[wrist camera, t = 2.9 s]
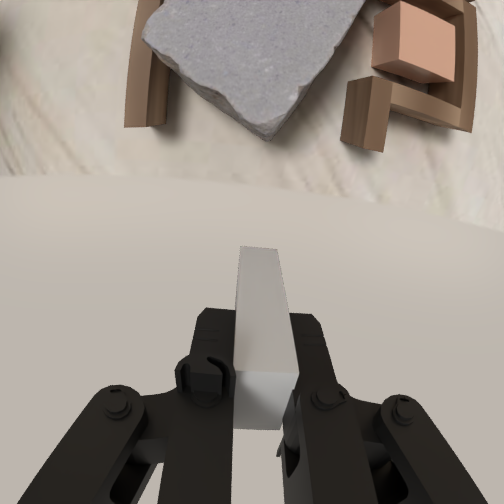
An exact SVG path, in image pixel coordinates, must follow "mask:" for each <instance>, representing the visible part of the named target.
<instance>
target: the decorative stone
mask: <svg viewBox="0 0 504 504" xmlns="http://www.w3.org/2000/svg"><path fill="white" fill-rule="evenodd" d="M365 1H366V0H164V3H163V5H161V6H160V7H159V8H158V9H157V10H156V11H155V12H154V13H153V14H152V15H151V16H150V17H149V19H148V20H147V22H146V24H145V27H144V29H143V31H142V37H141V39H142V40H143V41H144V43H145V44H146V45H147V46H148V47H149V48H150V49H151V50H152V51H153V52H154V53H155V54H156V55H157V56H158V58H159V59H160V60H161V61H162V62H163V63H164V64H166V65H167V66H168V67H170V68H171V69H173V70H174V71H175V72H176V73H177V74H178V75H179V76H180V78H182V79H183V81H184V82H185V83H186V84H187V85H188V86H189V87H191V88H192V89H193V90H194V91H195V92H196V93H197V94H198V95H200V96H201V97H202V98H204V99H206V100H207V101H209V102H211V103H212V104H214V105H215V106H216V107H218V108H219V109H220V110H221V111H222V112H224V113H226V114H228V115H230V116H231V117H233V118H234V119H236V120H237V121H238V122H240V123H241V124H242V125H244V126H245V127H246V128H247V129H248V130H250V131H251V132H252V133H254V134H255V135H257V136H259V137H260V138H261V139H263V140H265V141H271V139H272V138H273V137H274V136H275V134H276V133H277V131H278V130H279V129H280V128H281V127H282V125H283V124H284V123H285V122H286V121H287V120H288V118H289V117H290V116H291V114H292V113H293V111H294V110H295V109H296V107H297V106H298V104H299V103H300V101H302V99H303V98H304V96H305V95H306V93H307V91H308V89H309V87H310V86H311V84H312V83H313V81H314V78H315V77H316V76H317V75H318V74H319V73H320V72H321V71H322V70H323V68H324V67H325V66H326V64H327V63H328V62H329V60H330V59H331V57H332V56H333V54H334V52H335V49H336V47H338V46H339V45H340V44H341V42H342V40H343V39H344V37H345V36H346V34H347V32H348V30H349V28H350V27H351V26H352V24H353V21H354V19H355V17H356V16H357V14H358V13H359V11H360V9H361V7H362V6H363V4H364V3H365Z"/></svg>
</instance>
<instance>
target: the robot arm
mask: <svg viewBox="0 0 504 504" xmlns="http://www.w3.org/2000/svg"><path fill="white" fill-rule="evenodd" d="M323 336H324V335H323V331H322V328H321V324H320V323H319V322H318V321H317V320H316V318H315V317H314V316H313V315H312V314H301V313H289V311H288V305H287V300H286V294H285V289H284V283H283V278H282V273H281V268H280V263H279V258H278V252H277V249H269V248H257V247H246V246H241V247H240V257H239V268H238V280H237V291H236V302H235V310H227V309H215V308H205V309H204V310H203V311H202V313H201V314H200V315H199V316H198V317H197V321H196V327H195V330H194V336H193V340H192V344H191V349H190V354H189V355H188V356H186V357H185V358H183V359H182V360H181V361H179V362H178V364H177V366H176V368H175V378H176V385H177V387H176V388H174V389H173V390H171V391H168V392H166V393H161V394H155V395H145V396H140V394H139V393H138V392H137V391H135V390H134V389H132V388H131V387H128V386H124V385H110V386H108V387H105V388H103V389H101V390H100V391H99V392H98V393H96V394H95V395H94V397H93V398H92V399H91V400H90V402H89V403H88V404H87V406H86V407H85V408H84V410H83V411H82V412H81V414H80V415H79V416H78V418H77V419H76V420H75V422H74V423H73V425H72V426H71V427H70V429H69V430H68V431H67V433H66V434H65V435H64V437H63V438H62V440H61V441H60V443H59V444H58V445H57V447H56V448H55V449H54V451H53V452H52V453H51V455H50V456H49V458H48V459H47V460H46V462H45V463H44V465H43V466H42V468H41V469H40V470H39V472H38V473H37V475H36V476H35V478H34V479H33V481H32V482H31V483H30V485H29V486H28V488H27V489H26V491H25V492H24V494H23V495H22V497H21V498H20V500H19V501H18V503H17V504H137V503H138V501H139V499H140V497H141V495H142V493H143V491H144V489H145V487H146V485H147V483H148V482H149V479H150V478H151V476H152V474H153V472H154V470H155V468H156V466H157V464H158V463H164V466H163V471H162V478H161V484H160V490H159V496H158V503H157V504H231V481H232V446H233V445H232V444H233V428H234V429H254V430H255V429H256V430H280V428H281V425H282V422H283V432H284V436H283V438H282V441H281V443H280V445H279V448H278V450H277V455H276V456H277V457H280V455H281V458H282V472H283V487H284V502H285V504H488V503H487V501H486V500H485V498H484V497H483V495H482V493H481V492H480V490H479V489H478V487H477V486H476V484H475V483H474V481H473V480H472V478H471V476H470V475H469V473H468V472H467V470H465V467H464V466H463V465H462V463H461V462H460V460H459V459H458V457H457V456H456V454H455V453H454V451H453V450H452V448H451V447H450V445H449V444H448V443H447V441H446V440H445V438H444V437H443V435H442V434H441V433H440V431H439V430H438V428H437V427H436V426H435V424H434V423H433V421H432V420H431V419H430V417H429V416H428V414H427V413H426V412H425V410H424V409H423V408H422V406H421V405H420V404H419V403H418V402H417V401H416V400H415V399H412V398H411V397H409V396H406V395H400V394H398V395H393V396H390V397H389V398H387V399H385V400H384V402H383V403H382V404H376V403H371V402H366V401H361V400H358V399H355V398H353V397H351V396H350V395H349V393H348V391H347V390H346V389H345V388H344V387H343V386H341V385H340V384H338V382H337V380H336V377H335V373H334V369H333V366H332V362H331V359H330V355H329V352H328V348H327V346H326V342H325V338H324V337H323Z"/></svg>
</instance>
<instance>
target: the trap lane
mask: <svg viewBox="0 0 504 504" xmlns="http://www.w3.org/2000/svg"><path fill="white" fill-rule="evenodd" d="M378 1H381V2H384V3H387V4H390V5H394V4H395V3H397V2H399V1H403V2H405V3H408V4H410V5H412V6H415V7H417V8H419V9H421V10H424V11H426V12H428V13H430V14H432V15H434V16H436V17H438V18H440V19H442V20H444V21H446V22H448V23H450V24H452V25H453V26H455V73H454V82H438V83H429V90H428V94H425V93H423V92H420V91H417V90H415V89H412V88H409V87H406V86H404V85H401V84H398V83H395V82H392V81H388V80H385V79H382V78H379V77H375V76H370V77H365V78H361V79H357V80H352V81H348V84H347V92H346V101H345V108H344V116H343V123H342V130H341V137H340V140H341V141H344V142H347V143H350V144H353V145H355V146H358V147H361V148H364V149H369V150H374V151H378V152H383V150H384V144H385V138H386V132H387V125H388V119H389V111H390V110H391V111H394V112H397V113H401V114H404V115H407V116H410V117H413V118H416V119H419V120H422V121H425V122H428V123H431V124H433V125H436V126H440V127H446V128H451V129H456V130H461V131H465V132H470V133H472V126H473V119H474V110H475V100H476V87H477V66H478V38H477V18H476V7H474V6H473V5H471V4H470V3H469V2H472V1H475V0H378ZM163 3H164V0H139V1H138V6H137V12H136V17H135V23H134V29H133V36H132V43H131V50H130V58H129V67H128V77H127V88H126V101H125V119H124V128H126V127H149V126H154V125H160V124H166V113H167V99H168V88H169V77H170V67H168V66H167V65H166V64H164V63H163V62H162V61H161V60H160V59H159V58H158V56H157V55H156V54H155V53H154V52H153V51H152V50H151V49H150V48H149V47H148V46H147V45H146V44H145V43H144V41H143V40H142V39H141V37H142V31H143V29H144V27H145V24H146V22H147V20H148V19H149V17H150V16H151V15H152V14H153V13H154V12H155V11H156V10H157V9H158V8H159V7H160V6H161V5H163Z"/></svg>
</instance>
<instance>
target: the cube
mask: <svg viewBox="0 0 504 504" xmlns="http://www.w3.org/2000/svg"><path fill="white" fill-rule="evenodd" d="M371 67H373V68H377V69H380V70H383V71H386V72H390V73H393V74H396V75H399V76H402V77H405V78H407V79H410V80H413V81H416V82H418V83H438V82H454V73H455V26H453V25H452V24H450V23H448V22H446V21H444V20H442V19H440V18H438V17H436V16H434V15H432V14H430V13H428V12H426V11H424V10H421V9H419V8H417V7H415V6H412V5H410V4H408V3H405V2H403V1H399V2H397V3H395V4H394V5H392V6H390V7H389V8H387V9H385V10H384V11H382V12H380V13H379V14H377V15H376V16H374V31H373V48H372V61H371Z"/></svg>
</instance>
